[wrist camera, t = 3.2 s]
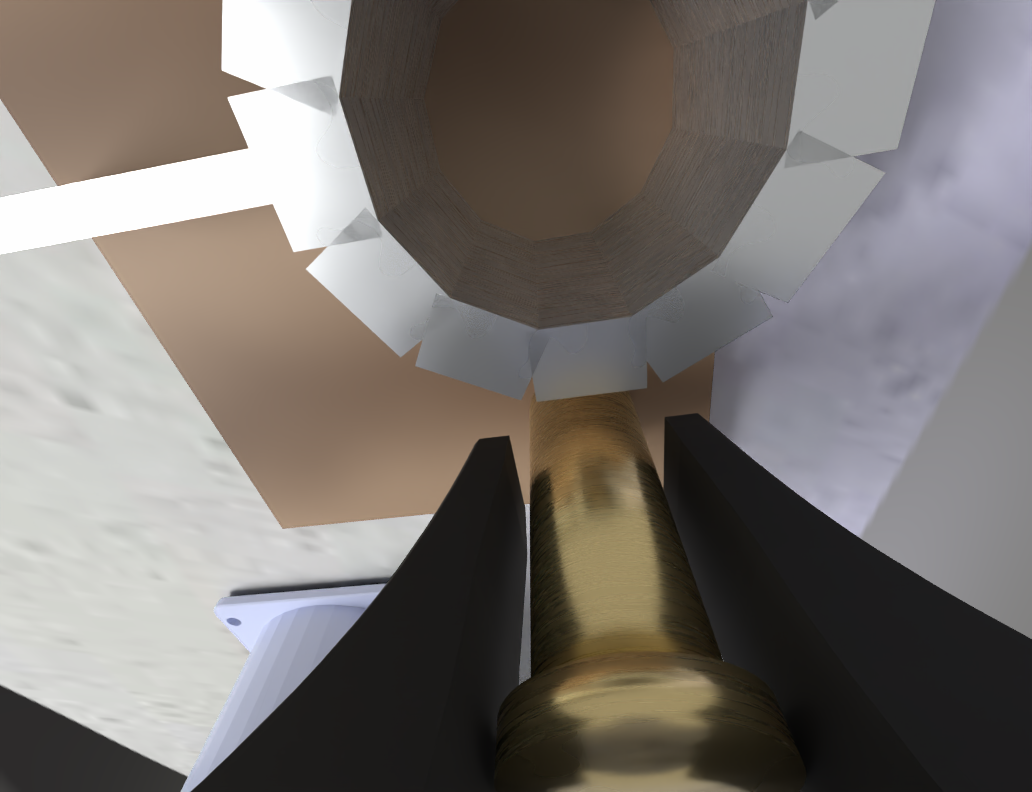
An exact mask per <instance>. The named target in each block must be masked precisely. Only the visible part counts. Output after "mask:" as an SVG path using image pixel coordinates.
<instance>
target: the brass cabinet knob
mask: <svg viewBox="0 0 1032 792" xmlns="http://www.w3.org/2000/svg"><path fill="white" fill-rule="evenodd" d="M529 434H530V610H531V678H530V679H528V680H526V681H524V682H523V683H521V684H520V685H519V686H517V687H516V688H515V689H514V690H512V691H511V693H510V694H509V695H508V696H507V697H506V698H505V699H504V701H503V702H502V704H501V706H500V708H499V711H498V715H497V735H496V755H495V776H494V788H495V791H496V792H799V791H800V789H801V788H802V786H803V785H804V783H805V779H806V768H805V766H804V763H803V761H802V759H801V756H800V754H799V751H798V749H797V747H796V744H795V742H794V739H793V737H792V735H791V732H790V730H789V727H788V725H787V723H786V720H785V718H784V715H783V713H782V711H781V708H780V706H779V703H778V701H777V699H776V697H775V694H774V692H773V691H772V690H771V689H770V687H769V686H768V685H767V684H766V683H765V682H764V681H762V680H761V679H760V678H759V677H757V676H756V675H754V674H752V673H750V672H749V671H747V670H745V669H743V668H740V667H738V666H735V665H733V664H730V663H727V662H724V661H723V659H722V656H721V653H720V650H719V647H718V644H717V642H716V639H715V636H714V633H713V630H712V627H711V624H710V621H709V619H708V616H707V613H706V610H705V607H704V604H703V601H702V599H701V596H700V593H699V590H698V587H697V584H696V581H695V579H694V576H693V573H692V570H691V567H690V564H689V561H688V559H687V556H686V553H685V550H684V547H683V544H682V541H681V539H680V536H679V533H678V530H677V527H676V524H675V521H674V519H673V516H672V513H671V510H670V507H669V504H668V501H667V499H666V496H665V493H664V490H663V487H662V484H661V481H660V479H659V476H658V473H657V470H656V467H655V464H654V461H653V459H652V456H651V453H650V450H649V447H648V444H647V441H646V439H645V436H644V433H643V430H642V427H641V424H640V421H639V419H638V416H637V413H636V410H635V407H634V404H633V401H632V399H631V396H630V393H629V391H620V392H612V393H604V394H596V395H588V396H580V397H572V398H564V399H556V400H548V401H540V402H537V401H536V395H535V392H534V394H533V396H532V399H531V402H530V409H529Z"/></svg>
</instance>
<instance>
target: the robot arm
mask: <svg viewBox="0 0 1032 792" xmlns="http://www.w3.org/2000/svg"><path fill="white" fill-rule="evenodd" d="M663 490H664V493H665V496H666V499H667V501H668V504H669V507H670V510H671V513H672V516H673V519H674V521H675V524H676V527H677V530H678V533H679V536H680V539H681V541H682V544H683V547H684V550H685V553H686V556H687V559H688V561H689V564H690V567H691V570H692V573H693V576H694V579H695V581H696V584H697V587H698V590H699V593H700V596H701V599H702V601H703V604H704V607H705V610H706V613H707V616H708V619H709V621H710V624H711V627H712V630H713V633H714V636H715V639H716V642H717V644H718V647H719V650H720V653H721V655H722V657H723V660H724V662H727V663H730V664H733V665H735V666H738V667H740V668H743V669H745V670H747V671H749V672H750V673H752V674H754V675H756V676H757V677H759V678H760V679H761V680H762V681H764V682H765V683H766V684H767V685H768V686H769V687H770V689H771V690H772V691H773V692H774V694H775V697H776V699H777V701H778V703H779V706H780V708H781V711H782V713H783V715H784V718H785V720H786V723H787V725H788V727H789V730H790V732H791V735H792V737H793V739H794V742H795V744H796V747H797V749H798V751H799V754H800V756H801V759H802V761H803V763H804V766H805V768H806V779H805V783H804V785H803V786H802V788H801V789H800V791H799V792H1032V639H1030V638H1028V637H1026V636H1025V635H1023V634H1021V633H1019V632H1017V631H1016V630H1014V629H1012V628H1010V627H1008V626H1007V625H1005V624H1003V623H1001V622H999V621H997V620H996V619H994V618H992V617H990V616H988V615H986V614H984V613H983V612H981V611H979V610H977V609H975V608H974V607H972V606H970V605H968V604H967V603H965V602H963V601H962V600H960V599H958V598H956V597H955V596H953V595H951V594H949V593H947V592H946V591H944V590H942V589H941V588H939V587H937V586H936V585H933V584H932V583H931V582H929V581H927V580H925V579H924V578H922V577H921V576H919V575H918V574H916V573H914V572H913V571H911V570H910V569H908V568H906V567H905V566H903V565H901V564H900V563H898V562H897V561H895V560H893V559H892V558H890V557H889V556H887V555H885V554H884V553H882V552H880V551H879V550H877V549H876V548H874V547H872V546H871V545H869V544H868V543H866V542H865V541H863V540H862V539H860V538H859V537H857V536H856V535H854V534H853V533H851V532H850V531H848V530H847V529H846V528H844V527H843V526H841V525H840V524H838V523H837V522H836V521H834V520H833V519H831V518H830V517H828V516H827V515H826V514H824V513H823V512H821V511H820V510H818V509H817V508H816V507H814V506H813V505H811V504H810V503H809V502H807V501H806V500H805V499H803V498H802V497H801V496H799V495H798V494H797V493H795V492H794V491H793V490H791V489H790V488H789V487H788V486H786V485H785V484H784V483H782V482H781V481H780V480H779V479H777V478H776V477H775V476H773V475H772V474H771V473H770V472H768V471H767V470H766V469H764V468H763V467H762V466H761V465H759V464H758V463H757V462H756V461H755V460H753V459H752V458H751V457H750V456H748V455H747V454H746V453H745V452H744V451H742V450H741V449H740V448H739V447H738V446H736V445H735V444H734V443H733V442H732V441H730V440H729V439H728V438H727V437H726V436H725V435H723V434H722V433H721V432H720V431H719V430H718V429H716V428H715V427H714V426H713V425H712V424H710V423H709V422H708V421H707V420H706V419H704V418H703V417H702V416H701V415H699V414H698V413H693V414H685V415H677V416H668V417H665V419H664V483H663ZM526 565H527V537H526V514H525V505H524V500H523V495H522V491H521V486H520V482H519V477H518V473H517V468H516V464H515V459H514V454H513V450H512V445H511V441H510V436H509V435H508V436H499V437H491V438H482V439H479V440H478V441H477V442H476V443H475V445H474V447H473V449H472V450H471V452H470V454H469V456H468V458H467V460H466V462H465V464H464V465H463V467H462V469H461V471H460V473H459V474H458V476H457V478H456V480H455V481H454V483H453V485H452V487H451V488H450V490H449V492H448V493H447V495H446V497H445V498H444V500H443V502H442V503H441V505H440V506H439V508H438V510H437V511H436V513H435V514H434V516H433V518H432V519H431V521H430V522H429V524H428V526H427V527H426V529H425V530H424V532H423V533H422V534H421V536H420V537H419V539H418V540H417V542H416V543H415V545H414V546H413V547H412V549H411V550H410V552H409V553H408V555H407V556H406V558H405V559H404V560H403V562H402V563H401V565H400V566H399V567H398V569H397V570H396V572H395V573H394V574H393V576H392V577H391V578H390V580H389V581H388V582H387V583H385V584H373V585H361V586H350V587H338V588H326V589H314V590H302V591H291V592H279V593H267V594H255V595H243V596H231V597H224V598H221V599H220V600H219V601H218V603H217V604H216V606H215V607H214V613H215V614H216V616H217V617H218V618H219V619H220V620H221V621H222V622H223V623H224V624H225V626H226V627H227V628H228V629H229V630H230V631H231V632H232V633H233V634H234V635H235V636H236V638H237V639H238V640H239V641H240V642H241V643H242V644H243V645H244V646H245V647H246V649H247V650H248V651H249V652H250V655H249V657H248V659H247V661H246V663H245V665H244V667H243V669H242V671H241V673H240V675H239V677H238V679H237V681H236V683H235V685H234V687H233V689H232V691H231V693H230V695H229V697H228V699H227V701H226V703H225V704H224V706H223V708H222V710H221V712H220V714H219V716H218V718H217V720H216V722H215V724H214V726H213V728H212V730H211V732H210V734H209V736H208V738H207V740H206V742H205V744H204V746H203V748H202V750H201V752H200V754H199V756H198V758H197V760H196V762H195V764H194V766H193V768H192V770H191V772H190V774H189V776H188V778H187V780H186V782H185V784H184V786H183V788H182V790H181V792H496V791H495V788H494V776H495V755H496V735H497V715H498V711H499V708H500V706H501V704H502V702H503V701H504V699H505V698H506V697H507V696H508V695H509V694H510V693H511V691H512V690H514V689H515V688H516V687H517V686H519V666H520V652H521V638H522V624H523V609H524V595H525V580H526Z"/></svg>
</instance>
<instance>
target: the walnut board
mask: <svg viewBox="0 0 1032 792" xmlns="http://www.w3.org/2000/svg"><path fill="white" fill-rule="evenodd" d="M222 14H223V0H0V99H1V100H2V102H3V103H4V105H5V107H6V108H7V110H8V111H9V113H10V114H11V116H12V117H13V119H14V120H15V122H16V123H17V125H18V126H19V128H20V129H21V131H22V132H23V134H24V135H25V137H26V139H27V140H28V142H29V143H30V145H31V146H32V148H33V149H34V151H35V152H36V154H37V155H38V157H39V158H40V160H41V161H42V163H43V164H44V166H45V167H46V169H47V170H48V172H49V174H50V175H51V177H52V178H53V180H54V181H55V183H56V184H57V186H58V187H59V186H64V185H69V184H74V183H79V182H84V181H89V180H94V179H99V178H104V177H109V176H114V175H119V174H124V173H129V172H134V171H139V170H144V169H149V168H154V167H159V166H164V165H169V164H174V163H179V162H184V161H189V160H194V159H199V158H204V157H209V156H214V155H220V154H225V153H230V152H235V151H240V150H245V149H249V147H248V144H247V142H246V139H245V137H244V135H243V132H242V130H241V128H240V125H239V123H238V121H237V118H236V116H235V114H234V111H233V109H232V107H231V104H230V102H229V100H228V97H232V96H237V95H241V94H246V93H251V92H255V91H260V90H265V89H266V88H264V87H261V86H259V85H256V84H254V83H252V82H249V81H247V80H244V79H242V78H239V77H237V76H235V75H232V74H230V73H227V72H225V71H222ZM673 54H674V48H673V46H672V44H671V42H670V40H669V38H668V36H667V34H666V32H665V30H664V28H663V26H662V24H661V22H660V20H659V18H658V16H657V14H656V12H655V10H654V9H653V7H652V5H651V3H650V1H649V0H458V1H457V2H456V4H455V5H454V6H453V7H452V8H451V9H450V10H449V12H448V13H447V14H446V15H445V16H444V17H443V19H442V20H441V24H440V28H439V33H438V38H437V42H436V47H435V51H434V56H433V60H432V65H431V69H430V74H429V79H428V83H427V88H426V92H425V97H424V101H425V105H426V110H427V114H428V118H429V123H430V127H431V131H432V136H433V140H434V144H435V149H436V153H437V157H438V162H439V166H440V170H441V172H442V173H443V174H444V175H445V176H446V178H447V179H448V180H449V181H450V183H451V184H452V185H453V186H454V187H455V189H456V190H457V191H458V192H459V194H460V195H461V196H462V197H463V198H464V200H465V201H466V202H467V203H468V205H469V206H470V207H471V208H472V209H473V211H474V212H475V213H476V214H477V216H478V217H479V218H480V219H481V220H483V221H485V222H488V223H490V224H493V225H495V226H498V227H500V228H503V229H506V230H508V231H511V232H513V233H516V234H518V235H521V236H523V237H526V238H528V239H531V240H533V241H536V240H543V239H549V238H555V237H561V236H567V235H573V234H579V233H585V232H591V231H592V230H593V229H595V228H596V227H597V226H599V225H600V224H601V223H602V222H604V221H605V220H606V219H607V218H609V217H610V216H611V215H613V214H614V213H615V212H616V211H618V210H619V209H620V208H621V207H623V206H624V205H625V204H627V203H628V202H629V201H630V200H632V199H633V198H634V197H635V196H637V195H638V194H639V193H640V192H641V190H642V188H643V186H644V184H645V182H646V180H647V178H648V176H649V174H650V172H651V170H652V168H653V166H654V164H655V162H656V160H657V158H658V156H659V154H660V151H661V149H662V147H663V145H664V143H665V141H666V139H667V137H668V135H669V133H670V131H671V129H672V107H673ZM91 238H92V239H93V241H94V242H95V244H96V245H97V247H98V248H99V250H100V251H101V253H102V254H103V256H104V257H105V259H106V260H107V262H108V263H109V265H110V266H111V268H112V269H113V271H114V273H115V274H116V276H117V277H118V279H119V280H120V282H121V283H122V285H123V286H124V288H125V289H126V291H127V292H128V294H129V295H130V297H131V298H132V300H133V301H134V303H135V305H136V306H137V308H138V309H139V311H140V312H141V314H142V315H143V317H144V318H145V320H146V321H147V323H148V324H149V326H150V327H151V329H152V330H153V332H154V333H155V335H156V337H157V338H158V340H159V341H160V343H161V344H162V346H163V347H164V349H165V350H166V352H167V353H168V355H169V356H170V358H171V359H172V361H173V362H174V364H175V365H176V367H177V368H178V370H179V372H180V373H181V375H182V376H183V378H184V379H185V381H186V382H187V384H188V385H189V387H190V388H191V390H192V391H193V393H194V394H195V396H196V397H197V399H198V400H199V402H200V404H201V405H202V407H203V408H204V410H205V411H206V413H207V414H208V416H209V417H210V419H211V420H212V422H213V423H214V425H215V426H216V428H217V429H218V431H219V432H220V434H221V435H222V437H223V439H224V440H225V442H226V443H227V445H228V446H229V448H230V449H231V451H232V452H233V454H234V455H235V457H236V458H237V460H238V461H239V463H240V464H241V466H242V467H243V469H244V471H245V472H246V474H247V475H248V477H249V478H250V480H251V481H252V483H253V484H254V486H255V487H256V489H257V490H258V492H259V493H260V495H261V496H262V498H263V499H264V501H265V503H266V504H267V506H268V507H269V509H270V510H271V512H272V513H273V515H274V516H275V518H276V519H277V521H278V522H279V524H280V525H281V527H282V528H283V529H285V528H295V527H304V526H314V525H324V524H334V523H344V522H354V521H364V520H374V519H384V518H394V517H404V516H414V515H423V514H433V513H436V511H437V510H438V508H439V506H440V505H441V503H442V502H443V500H444V498H445V497H446V495H447V493H448V492H449V490H450V488H451V487H452V485H453V483H454V481H455V480H456V478H457V476H458V474H459V473H460V471H461V469H462V467H463V465H464V464H465V462H466V460H467V458H468V456H469V454H470V452H471V450H472V449H473V447H474V445H475V443H476V442H477V441H478V440H479V439H482V438H491V437H499V436H508V435H509V436H510V441H511V445H512V450H513V454H514V459H515V464H516V468H517V473H518V477H519V482H520V486H521V491H522V495H523V500H524V504H530V434H529V409H530V402H531V399H532V396H533V394H534V392H535V390H534V384H533V378H531V380H530V382H529V384H528V387H527V389H526V391H525V393H524V395H523V397H522V400H518V399H515V398H512V397H509V396H506V395H503V394H500V393H497V392H493V391H490V390H487V389H484V388H481V387H478V386H475V385H472V384H469V383H466V382H463V381H460V380H457V379H454V378H450V377H447V376H444V375H441V374H438V373H435V372H432V371H429V370H426V369H423V368H420V367H417V366H415V364H416V361H417V357H418V354H419V351H420V347H421V344H422V340H421V341H420V342H419V343H418V344H417V345H415V346H414V347H413V348H412V349H410V350H409V351H408V352H407V353H405V354H404V355H403V356H402V357H399V356H398V355H397V354H396V353H395V352H394V351H393V350H392V349H391V348H390V347H389V346H388V345H387V344H386V343H384V342H383V341H382V340H381V339H380V338H379V337H378V336H377V335H376V334H375V333H374V332H373V331H372V330H371V329H369V328H368V327H367V326H366V325H365V324H364V323H363V322H362V321H361V320H360V319H359V318H358V317H357V316H356V315H354V314H353V313H352V312H351V311H350V310H349V309H348V308H347V307H346V306H345V305H344V304H343V303H342V302H340V301H339V300H338V299H337V298H336V297H335V296H334V295H333V294H332V293H331V292H330V291H329V290H328V289H327V288H325V287H324V286H323V285H322V284H321V283H320V282H319V281H318V280H317V279H316V278H315V277H314V276H313V275H312V274H310V273H309V272H308V271H307V270H306V268H307V267H308V266H309V265H310V264H311V263H312V262H313V261H314V260H315V259H316V258H317V257H318V256H319V255H320V254H321V253H322V252H323V251H324V250H325V249H326V248H327V247H328V246H327V247H321V248H315V249H309V250H303V251H297V252H293V249H292V247H291V245H290V242H289V240H288V238H287V235H286V233H285V231H284V228H283V226H282V224H281V221H280V219H279V217H278V214H277V212H276V210H275V207H274V205H273V204H268V205H263V206H258V207H252V208H247V209H241V210H236V211H230V212H225V213H220V214H214V215H209V216H203V217H198V218H192V219H187V220H181V221H176V222H171V223H165V224H160V225H154V226H149V227H143V228H138V229H133V230H127V231H122V232H116V233H111V234H105V235H100V236H95V237H91ZM714 355H715V352H713V353H712V354H710V355H708V356H707V357H705V358H703V359H702V360H700V361H698V362H697V363H695V364H693V365H692V366H690V367H688V368H687V369H685V370H683V371H682V372H680V373H678V374H677V375H675V376H673V377H672V378H670V379H668V380H667V381H665V382H662V381H661V379H660V378H659V377H658V375H657V374H656V373H655V371H654V370H653V369H652V367H651V366H650V365H649V363H648V362H647V388H644V389H636V390H628V391H629V393H630V396H631V399H632V401H633V404H634V407H635V410H636V413H637V416H638V419H639V421H640V424H641V427H642V430H643V433H644V436H645V439H646V441H647V444H648V447H649V450H650V453H651V456H652V459H653V461H654V464H655V467H656V470H657V473H658V476H659V479H660V481H661V484H662V487H663V483H664V419H665V417H668V416H677V415H685V414H693V413H698V414H699V415H701V416H702V417H703V418H704V419H706V420H707V421H708V422H709V416H710V404H711V392H712V380H713V367H714Z"/></svg>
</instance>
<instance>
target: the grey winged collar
mask: <svg viewBox="0 0 1032 792" xmlns="http://www.w3.org/2000/svg"><path fill="white" fill-rule="evenodd" d="M457 1H458V0H223V14H222V71H225V72H227V73H230V74H232V75H235V76H237V77H239V78H242V79H244V80H247V81H249V82H252V83H254V84H256V85H259V86H261V87H264V88H266V89H265V90H260V91H255V92H251V93H246V94H241V95H237V96H232V97H228V100H229V102H230V104H231V107H232V109H233V111H234V114H235V116H236V118H237V121H238V123H239V125H240V128H241V130H242V132H243V135H244V137H245V139H246V142H247V144H248V147H249V149H245V150H240V151H235V152H230V153H225V154H220V155H214V156H209V157H204V158H199V159H194V160H189V161H184V162H179V163H174V164H169V165H164V166H159V167H154V168H149V169H144V170H139V171H134V172H129V173H124V174H119V175H114V176H109V177H104V178H99V179H94V180H89V181H84V182H79V183H74V184H69V185H64V186H59V187H54V188H49V189H44V190H39V191H34V192H29V193H24V194H19V195H14V196H9V197H4V198H0V254H2V253H8V252H13V251H18V250H24V249H29V248H35V247H40V246H46V245H51V244H57V243H62V242H67V241H73V240H78V239H84V238H89V237H95V236H100V235H105V234H111V233H116V232H122V231H127V230H133V229H138V228H143V227H149V226H154V225H160V224H165V223H171V222H176V221H181V220H187V219H192V218H198V217H203V216H209V215H214V214H220V213H225V212H230V211H236V210H241V209H247V208H252V207H258V206H263V205H268V204H273V205H274V207H275V210H276V212H277V214H278V217H279V219H280V221H281V224H282V226H283V228H284V231H285V233H286V235H287V238H288V240H289V242H290V245H291V247H292V249H293V252H297V251H303V250H309V249H315V248H321V247H327V246H328V247H327V248H326V249H325V250H324V251H323V252H322V253H321V254H320V255H319V256H318V257H317V258H316V259H315V260H314V261H313V262H312V263H311V264H310V265H309V266H308V267H307V268H306V270H307V271H308V272H309V273H310V274H312V275H313V276H314V277H315V278H316V279H317V280H318V281H319V282H320V283H321V284H322V285H323V286H324V287H325V288H327V289H328V290H329V291H330V292H331V293H332V294H333V295H334V296H335V297H336V298H337V299H338V300H339V301H340V302H342V303H343V304H344V305H345V306H346V307H347V308H348V309H349V310H350V311H351V312H352V313H353V314H354V315H356V316H357V317H358V318H359V319H360V320H361V321H362V322H363V323H364V324H365V325H366V326H367V327H368V328H369V329H371V330H372V331H373V332H374V333H375V334H376V335H377V336H378V337H379V338H380V339H381V340H382V341H383V342H384V343H386V344H387V345H388V346H389V347H390V348H391V349H392V350H393V351H394V352H395V353H396V354H397V355H398V356H399V357H402V356H403V355H404V354H405V353H407V352H408V351H409V350H410V349H412V348H413V347H414V346H415V345H417V344H418V343H419V342H420V341H421V340H422V344H421V347H420V351H419V354H418V357H417V361H416V364H415V366H417V367H420V368H423V369H426V370H429V371H432V372H435V373H438V374H441V375H444V376H447V377H450V378H454V379H457V380H460V381H463V382H466V383H469V384H472V385H475V386H478V387H481V388H484V389H487V390H490V391H493V392H497V393H500V394H503V395H506V396H509V397H512V398H515V399H518V400H522V397H523V395H524V393H525V391H526V389H527V387H528V384H529V382H530V380H531V378H533V384H534V390H535V395H536V401H537V402H540V401H548V400H556V399H564V398H572V397H580V396H588V395H596V394H604V393H612V392H620V391H628V390H636V389H644V388H647V362H648V363H649V365H650V366H651V367H652V369H653V370H654V371H655V373H656V374H657V375H658V377H659V378H660V379H661V381H662V382H665V381H667V380H668V379H670V378H672V377H673V376H675V375H677V374H678V373H680V372H682V371H683V370H685V369H687V368H688V367H690V366H692V365H693V364H695V363H697V362H698V361H700V360H702V359H703V358H705V357H707V356H708V355H710V354H712V353H713V352H715V351H717V350H718V349H720V348H722V347H723V346H725V345H727V344H728V343H730V342H732V341H733V340H735V339H737V338H738V337H740V336H742V335H743V334H745V333H747V332H748V331H750V330H752V329H753V328H755V327H757V326H758V325H760V324H762V323H763V322H765V321H767V320H768V319H770V318H772V317H773V316H772V314H771V312H770V311H769V309H768V307H767V305H766V303H765V302H764V300H763V298H762V296H761V294H760V292H762V293H765V294H767V295H769V296H772V297H774V298H777V299H779V300H782V301H784V302H786V303H789V301H790V300H791V299H792V297H793V296H794V295H795V293H796V292H797V291H798V289H799V288H800V287H801V285H802V284H803V283H804V281H805V280H806V279H807V277H808V276H809V275H810V273H811V272H812V271H813V269H814V268H815V266H816V265H817V264H818V262H819V261H820V260H821V258H822V257H823V256H824V254H825V253H826V252H827V250H828V249H829V248H830V246H831V245H832V244H833V242H834V241H835V240H836V238H837V237H838V236H839V234H840V233H841V232H842V230H843V229H844V228H845V226H846V225H847V224H848V222H849V221H850V220H851V218H852V217H853V216H854V214H855V213H856V212H857V210H858V209H859V208H860V206H861V205H862V204H863V202H864V201H865V200H866V198H867V197H868V196H869V194H870V193H871V192H872V190H873V189H874V188H875V186H876V185H877V184H878V182H879V181H880V180H881V178H882V177H883V176H884V174H885V172H883V171H881V170H879V169H877V168H875V167H873V166H871V165H869V164H867V163H865V162H863V161H861V160H859V159H857V158H855V157H854V156H859V155H865V154H871V153H877V152H883V151H889V150H895V149H897V148H898V145H899V141H900V137H901V133H902V129H903V125H904V121H905V117H906V114H907V110H908V106H909V102H910V98H911V94H912V90H913V86H914V83H915V79H916V75H917V71H918V67H919V63H920V59H921V55H922V52H923V48H924V44H925V40H926V36H927V32H928V28H929V24H930V21H931V17H932V13H933V9H934V5H935V1H936V0H649V1H650V3H651V5H652V7H653V9H654V10H655V12H656V14H657V16H658V18H659V20H660V22H661V24H662V26H663V28H664V30H665V32H666V34H667V36H668V38H669V40H670V42H671V44H672V46H673V48H674V54H673V107H672V129H671V131H670V133H669V135H668V137H667V139H666V141H665V143H664V145H663V147H662V149H661V151H660V154H659V156H658V158H657V160H656V162H655V164H654V166H653V168H652V170H651V172H650V174H649V176H648V178H647V180H646V182H645V184H644V186H643V188H642V190H641V192H640V193H639V194H638V195H637V196H635V197H634V198H633V199H632V200H630V201H629V202H628V203H627V204H625V205H624V206H623V207H621V208H620V209H619V210H618V211H616V212H615V213H614V214H613V215H611V216H610V217H609V218H607V219H606V220H605V221H604V222H602V223H601V224H600V225H599V226H597V227H596V228H595V229H593V230H592V231H591V232H585V233H579V234H573V235H567V236H561V237H555V238H549V239H543V240H536V241H533V240H531V239H528V238H526V237H523V236H521V235H518V234H516V233H513V232H511V231H508V230H506V229H503V228H500V227H498V226H495V225H493V224H490V223H488V222H485V221H483V220H481V219H480V218H479V217H478V216H477V214H476V213H475V212H474V211H473V209H472V208H471V207H470V206H469V205H468V203H467V202H466V201H465V200H464V198H463V197H462V196H461V195H460V194H459V192H458V191H457V190H456V189H455V187H454V186H453V185H452V184H451V183H450V181H449V180H448V179H447V178H446V176H445V175H444V174H443V173H442V172H441V170H440V166H439V162H438V157H437V153H436V149H435V144H434V140H433V136H432V131H431V127H430V123H429V118H428V114H427V110H426V105H425V101H424V97H425V92H426V88H427V83H428V79H429V74H430V69H431V65H432V60H433V56H434V51H435V47H436V42H437V38H438V33H439V28H440V24H441V20H442V19H443V17H444V16H445V15H446V14H447V13H448V12H449V10H450V9H451V8H452V7H453V6H454V5H455V4H456V2H457ZM759 291H760V292H759Z"/></svg>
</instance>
